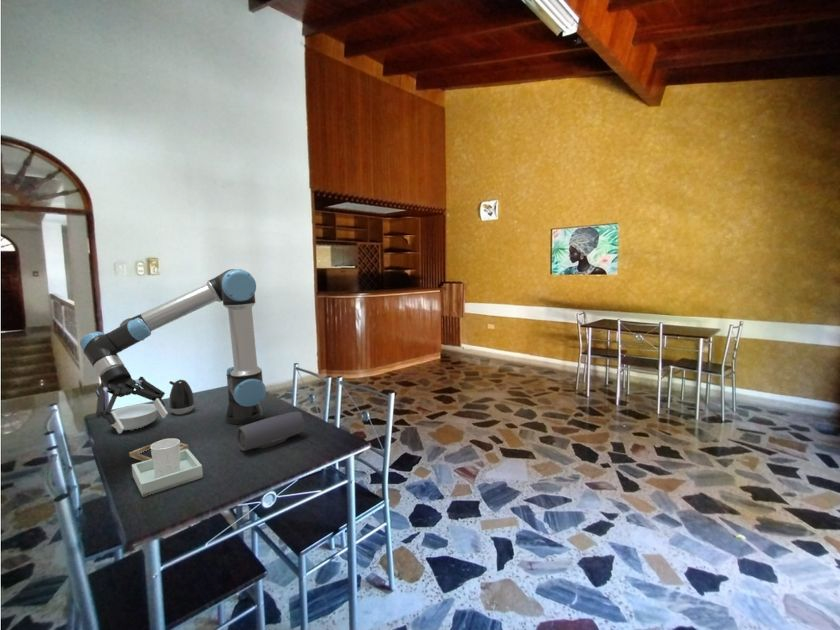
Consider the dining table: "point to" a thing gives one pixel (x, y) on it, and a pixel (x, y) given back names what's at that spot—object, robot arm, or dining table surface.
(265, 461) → the dining table surface
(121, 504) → the dining table surface
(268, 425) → the bluetooth speaker
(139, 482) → the bin
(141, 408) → the cereal bowl
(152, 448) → the white cup
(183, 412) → the pump dispenser
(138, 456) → the tan flat square frame
